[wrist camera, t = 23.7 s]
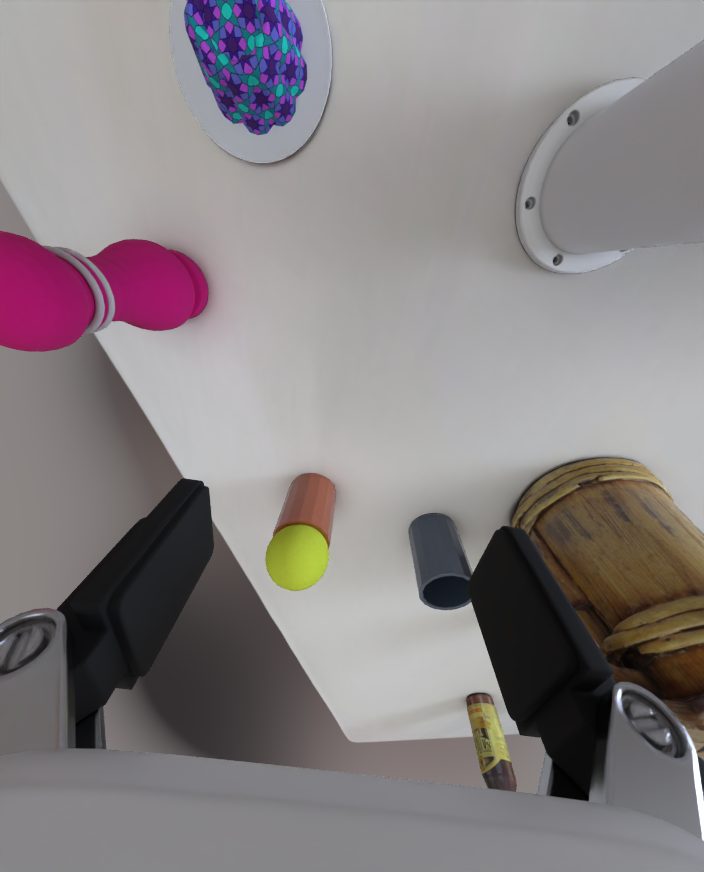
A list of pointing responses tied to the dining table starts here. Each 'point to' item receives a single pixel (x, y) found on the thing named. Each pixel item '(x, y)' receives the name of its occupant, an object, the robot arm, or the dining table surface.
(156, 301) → the pepper mill
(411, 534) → the grey cup
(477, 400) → the dining table surface
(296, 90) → the pudding
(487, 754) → the sauce bottle
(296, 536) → the ball
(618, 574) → the tankard
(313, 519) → the terracotta cup
